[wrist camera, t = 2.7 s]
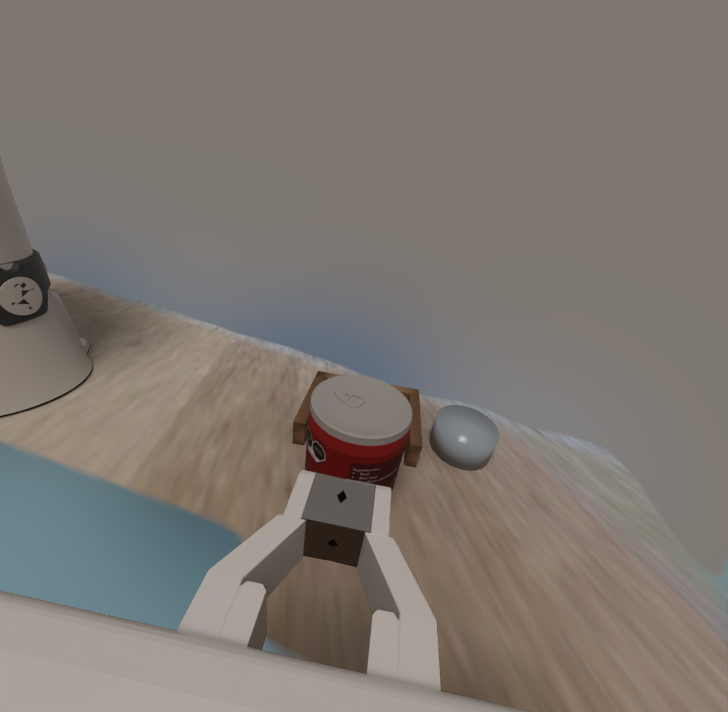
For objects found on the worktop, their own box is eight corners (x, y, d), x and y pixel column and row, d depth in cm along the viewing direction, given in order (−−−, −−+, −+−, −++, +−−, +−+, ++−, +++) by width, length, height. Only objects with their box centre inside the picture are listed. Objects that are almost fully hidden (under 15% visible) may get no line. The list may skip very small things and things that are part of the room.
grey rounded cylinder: (431, 464, 34) (439, 440, 32) (427, 422, 40) (434, 400, 39) (495, 477, 34) (507, 454, 32) (481, 432, 40) (491, 411, 38)
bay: (292, 442, 34) (293, 421, 32) (316, 389, 43) (318, 370, 41) (415, 467, 33) (422, 446, 32) (413, 407, 42) (418, 389, 41)
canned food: (323, 452, 33) (333, 364, 28) (396, 479, 32) (421, 390, 26) (286, 514, 27) (289, 414, 21) (374, 552, 25) (402, 454, 20)
